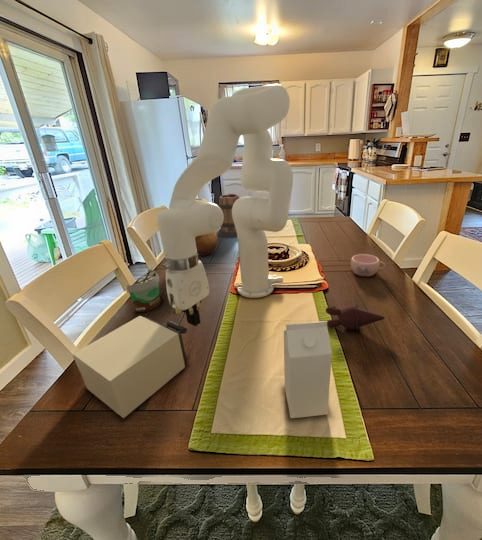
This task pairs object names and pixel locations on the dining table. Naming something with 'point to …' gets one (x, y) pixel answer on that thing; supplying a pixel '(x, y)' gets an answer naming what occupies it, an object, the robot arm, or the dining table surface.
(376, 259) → the mug
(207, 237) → the butternut squash
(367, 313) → the icecream
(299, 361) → the milk carton
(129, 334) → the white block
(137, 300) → the food container
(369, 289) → the dining table surface
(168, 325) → the drawer
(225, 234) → the tankard
